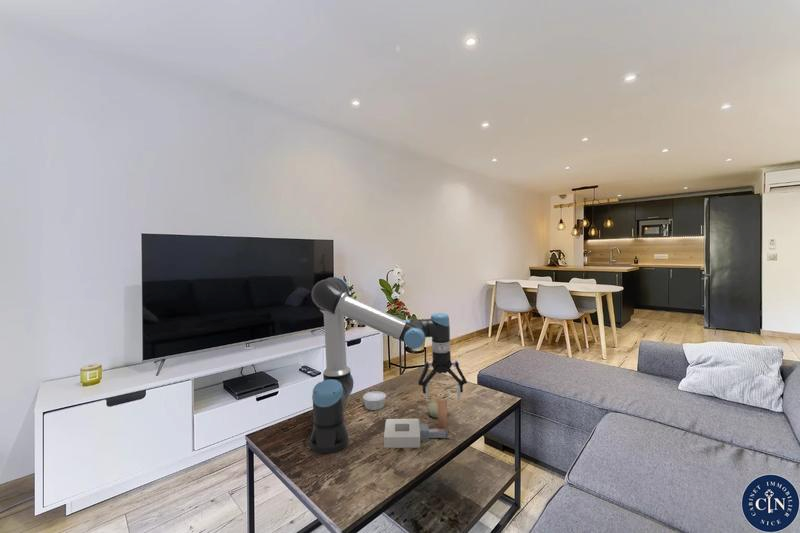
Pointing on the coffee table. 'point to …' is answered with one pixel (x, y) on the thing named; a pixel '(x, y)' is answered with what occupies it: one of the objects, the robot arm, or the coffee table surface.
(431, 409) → the sea urchin shell
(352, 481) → the coffee table surface
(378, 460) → the coffee table surface
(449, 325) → the robot arm
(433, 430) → the lock pin
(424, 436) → the pin guide
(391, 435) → the dock
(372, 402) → the ramekin
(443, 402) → the peg
